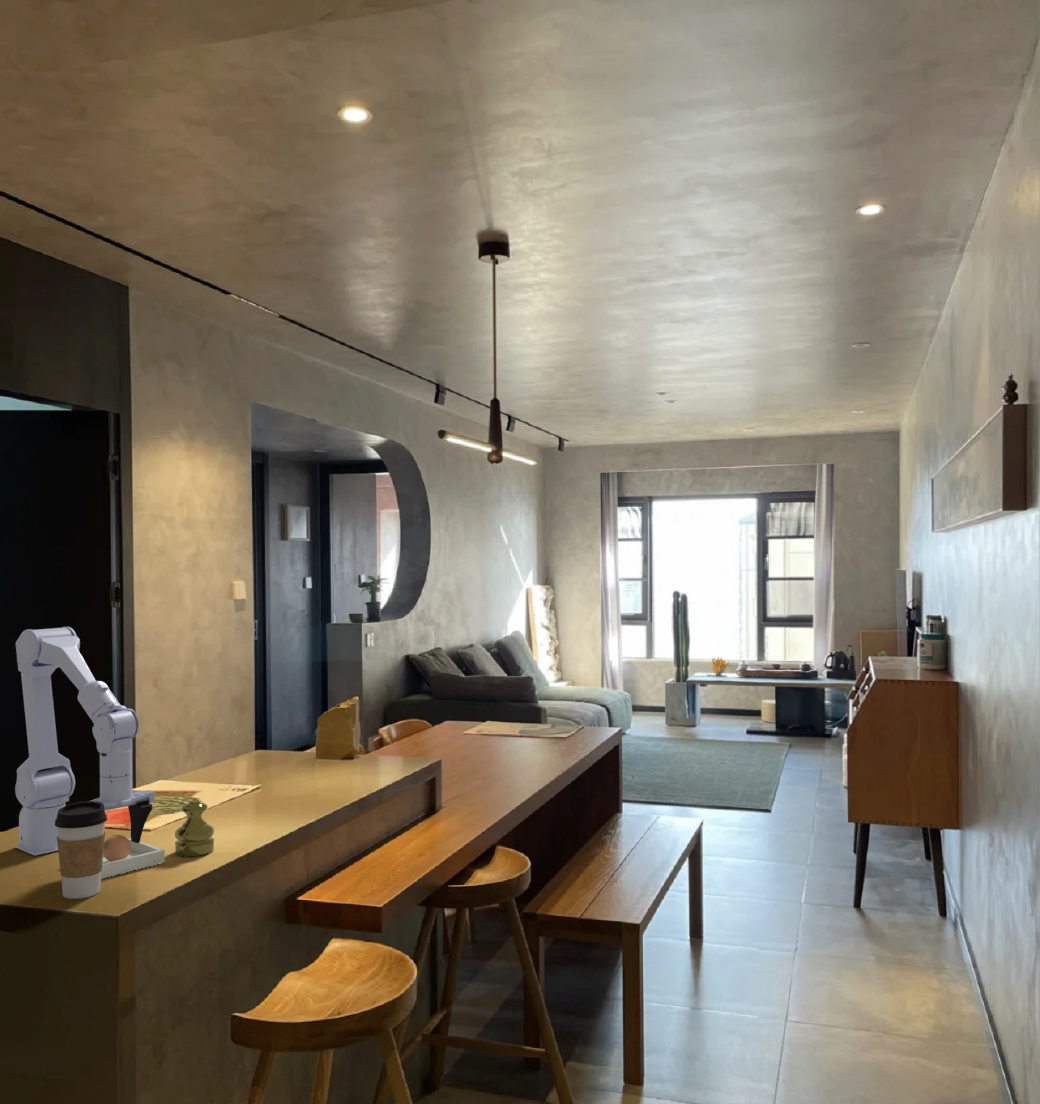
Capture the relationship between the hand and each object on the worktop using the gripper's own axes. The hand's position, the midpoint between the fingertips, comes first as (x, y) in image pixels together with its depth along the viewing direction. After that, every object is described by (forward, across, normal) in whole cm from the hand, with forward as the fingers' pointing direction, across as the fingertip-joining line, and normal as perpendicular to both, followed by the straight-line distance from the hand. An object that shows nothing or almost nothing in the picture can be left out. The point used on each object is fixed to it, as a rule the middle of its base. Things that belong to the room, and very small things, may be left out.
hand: (116, 846), depth 192 cm
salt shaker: (+4, +14, -4) cm, 15 cm away
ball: (+3, 0, 0) cm, 3 cm away
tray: (+3, 0, 0) cm, 3 cm away
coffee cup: (+4, -12, -11) cm, 17 cm away
